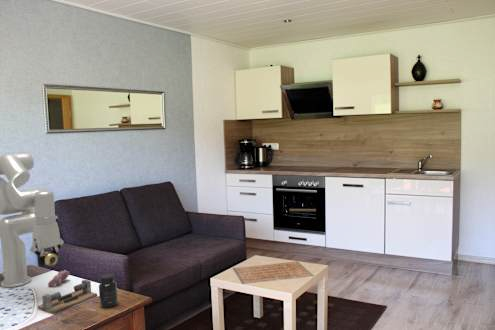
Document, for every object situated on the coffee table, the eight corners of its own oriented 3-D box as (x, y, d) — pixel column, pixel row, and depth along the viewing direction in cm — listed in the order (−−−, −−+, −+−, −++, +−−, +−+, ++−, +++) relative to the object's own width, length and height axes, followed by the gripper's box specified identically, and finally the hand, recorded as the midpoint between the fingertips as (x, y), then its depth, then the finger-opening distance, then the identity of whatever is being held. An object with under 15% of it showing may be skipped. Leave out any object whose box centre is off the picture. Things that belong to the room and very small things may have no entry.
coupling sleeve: (38, 264, 183) (38, 253, 183) (49, 261, 187) (49, 250, 187) (47, 267, 180) (46, 255, 179) (58, 264, 184) (57, 252, 184)
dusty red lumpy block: (54, 290, 197) (60, 277, 196) (46, 286, 198) (51, 272, 197) (67, 282, 207) (72, 270, 206) (59, 278, 207) (64, 265, 206)
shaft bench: (37, 308, 174) (36, 293, 174) (80, 291, 191) (79, 277, 190) (54, 314, 168) (53, 299, 168) (97, 296, 185) (96, 282, 184)
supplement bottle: (99, 303, 178) (97, 274, 177) (116, 300, 181) (115, 272, 179) (100, 309, 172) (99, 280, 170) (118, 306, 174) (117, 277, 173)
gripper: (59, 215, 191) (61, 256, 193) (20, 223, 177) (23, 267, 179) (69, 217, 187) (72, 259, 188) (30, 225, 173) (34, 270, 174)
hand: (48, 262), depth 184 cm, fingers closed on coupling sleeve, 5 cm apart
